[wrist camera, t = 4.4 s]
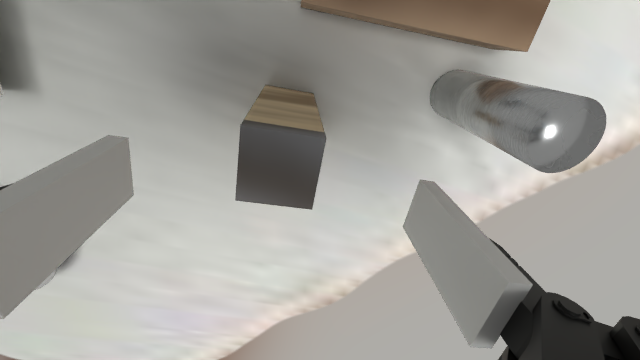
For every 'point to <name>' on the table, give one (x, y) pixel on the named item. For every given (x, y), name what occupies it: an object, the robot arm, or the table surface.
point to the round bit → (522, 118)
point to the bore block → (449, 18)
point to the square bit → (280, 149)
